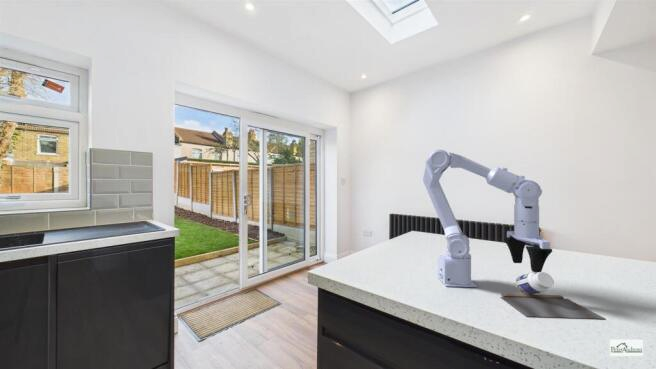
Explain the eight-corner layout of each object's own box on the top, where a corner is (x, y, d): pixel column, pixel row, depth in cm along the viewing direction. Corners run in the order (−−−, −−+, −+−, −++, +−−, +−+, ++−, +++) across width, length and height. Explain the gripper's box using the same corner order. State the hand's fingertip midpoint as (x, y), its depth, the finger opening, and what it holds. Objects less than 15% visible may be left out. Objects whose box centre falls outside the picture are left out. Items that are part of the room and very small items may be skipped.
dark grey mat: (526, 316, 61) (526, 314, 61) (497, 295, 72) (497, 293, 72) (605, 319, 59) (605, 316, 59) (563, 297, 71) (563, 295, 71)
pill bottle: (536, 296, 72) (559, 291, 64) (517, 293, 72) (538, 288, 65) (531, 277, 75) (553, 270, 67) (512, 274, 75) (532, 268, 68)
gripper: (562, 225, 65) (562, 276, 65) (523, 217, 80) (523, 259, 80) (534, 225, 66) (534, 276, 66) (500, 217, 80) (500, 259, 80)
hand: (526, 267), depth 73 cm, fingers open, 7 cm apart
